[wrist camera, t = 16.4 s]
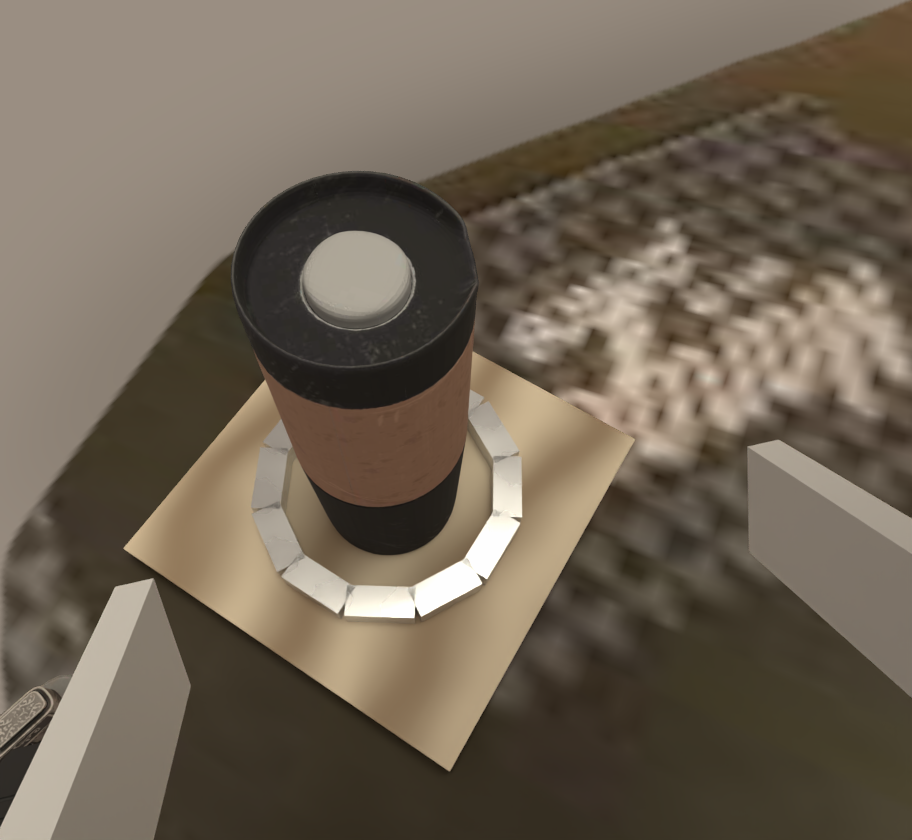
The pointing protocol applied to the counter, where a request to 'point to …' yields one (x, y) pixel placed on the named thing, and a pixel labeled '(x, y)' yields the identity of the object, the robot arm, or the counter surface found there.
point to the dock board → (392, 562)
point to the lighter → (31, 715)
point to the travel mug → (365, 346)
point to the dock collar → (392, 600)
